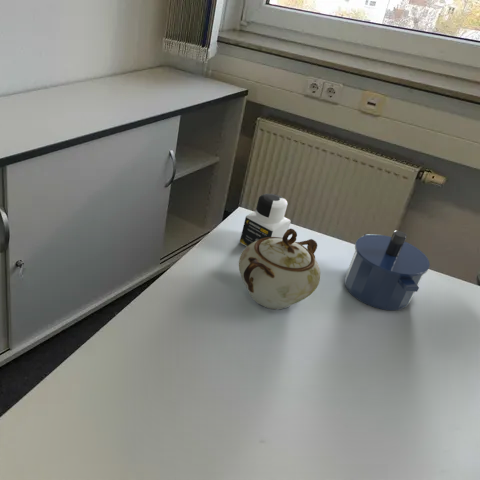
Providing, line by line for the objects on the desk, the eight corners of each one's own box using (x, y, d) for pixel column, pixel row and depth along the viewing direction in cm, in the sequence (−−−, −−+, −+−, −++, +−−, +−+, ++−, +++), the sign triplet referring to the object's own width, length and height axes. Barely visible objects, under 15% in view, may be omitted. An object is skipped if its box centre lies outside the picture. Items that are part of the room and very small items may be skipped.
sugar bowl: (275, 261, 116) (293, 200, 107) (333, 301, 106) (358, 237, 97) (208, 290, 105) (222, 224, 97) (265, 336, 95) (286, 267, 87)
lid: (405, 240, 112) (416, 217, 109) (441, 280, 101) (454, 255, 98) (342, 237, 111) (351, 213, 108) (372, 278, 99) (382, 252, 96)
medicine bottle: (238, 242, 121) (250, 195, 114) (257, 233, 125) (269, 187, 118) (265, 257, 117) (278, 209, 110) (283, 247, 121) (297, 200, 114)
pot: (385, 265, 118) (399, 232, 113) (428, 320, 103) (447, 285, 98) (330, 263, 117) (342, 229, 112) (365, 318, 102) (381, 283, 97)
